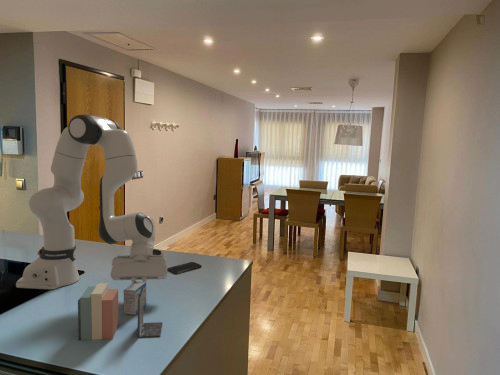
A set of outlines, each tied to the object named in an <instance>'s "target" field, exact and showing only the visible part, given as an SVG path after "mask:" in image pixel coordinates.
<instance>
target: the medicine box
mask: <svg viewBox="0 0 500 375" xmlns="http://www.w3.org/2000/svg"><path fill="white" fill-rule="evenodd" d="M141 288H143V309H144V308H145V307H146V306H147V282H146V283H145V282H143V281H136V282H134V283H131V284H130V285H128V286H127V287H126V288H124V289H123V314H126V315H131V316H132V315H133V316H136V315H138V297H139V294H140V291H141Z"/></svg>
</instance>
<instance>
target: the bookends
mask: <svg viewBox="0 0 500 375" xmlns="http://www.w3.org/2000/svg"><path fill="white" fill-rule="evenodd" d="M77 322H78V324H77V327H78V328H77V332H78V341H82V340H81V317H80V298H79V299H78V300H77ZM162 328H163V322H162V321H161V322H160V321H159V322H157V321H156V322H144V308H143V288H141V291H140V294H139V297H138V313H137V338H158V337H159V338H160V337H161V334H162Z"/></svg>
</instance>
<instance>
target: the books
mask: <svg viewBox="0 0 500 375" xmlns="http://www.w3.org/2000/svg"><path fill="white" fill-rule="evenodd" d="M79 299H80V317H81V340H80V341H93V340H94V341H96V340H113V339H114V337H115V334H116V332H117V329H118V327H119V288H110V289H109V283H108V282H106V283H105V282H104V283H103V282H101V283H99V282H98V283H97V284H96V286H95V285H94V286H87V287H86V289H85V290H84V291H83V293H82V295H81V296H80V297H79Z"/></svg>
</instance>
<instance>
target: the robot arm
mask: <svg viewBox="0 0 500 375" xmlns="http://www.w3.org/2000/svg"><path fill="white" fill-rule="evenodd" d="M91 146H100V147H101V149H102V150H103V154H104V160H105V170H104V174H103V175H102V176H101V177H100V181H99V224H98V236H99V237H100V239H101V240H102V241H103V242H105V243H106V244H108V245H114V244H118V243H121V242H127V241H130V240H132V242H131V245H130V249H129V254H128V255H117V256H115V257H113V259H112V261H111V262H112V263H111V266H112V267H111V271H110V278H111V279H112V280H113V281H131V284H133V283H134V282H137V281H139V280H140V281H141V282H145V283H146V284H147V280H166V279H167V278H168V275H169V274H168V272H169V271H167V268H168V263H167V259H166V254H165V251H163V250H161V249H159V248H158V249H157V248H155V246H154V243H155V241H156V240H155V239H156V224H155V219H153V218H152V217H151V216H149V215H146V214H144V213H142V212H133V213H127V214H124V215H123V214H122V215H117V216H116V215H115V194H116V192H117V190H118V189H119V188H121V187H122V186H123V185H125V184H126V183H128V182H129V181H131V180H132V179H133V178H134V177H135V175H136V174H137V171H138V160H137V156H136V151H135V147H134V144H133V140H132V137H131V136H130V134H129V132H127V130H124V129H122V128H121V126H120V124H118V122H117V121H116V120H113V119H112V118H111V119H110V118H106V117H104V116H100V115H89V114H84V113H83V114H78V115H74V116H72V118H70V120H69V122H68V125H67V127H65V128H64V129H63V131H62V132H61V134H60V136H59V138H58V141H57V144H56V148H55V150H54V154H53V157H52V160H51V161H52V163H51V165H50V172H51V173H52V174H53V178H54V182H53V185H52V186H51V187H47V188H42V189H40V190H38V191H37V192H34V193H33V194H31V196H30V198H29V200H28V206H29V210H30V211H31V213H32V214H33V215H35V216H36V217H37V218H38V220H39V221H40V224H41V226H42V228H41V229H42V234H43V246H41V248H40V249H39V250H38V251H37V255H38V256H39V257H37V258H36V259H35V260H33V261H31V263H30V264H28V265H27V266H26V267H25V268H24V269H23V273H22V277H20V278H19V279H18V280H17V281H16V282H15V287H16V288H19V289H36V290H37V289H38V290H56V289H59V288H61V287H64V286H70V285H72V284H74V283H76V282H78V281H79V280H80V279H81V278H80V274H79V272H78V267H77V262H76V261H77V260H76V259H77V246H76V244H75V242H76V241H75V238H76V237H75V226H74V225H73V224H71V222H70V221H69V218H68V212H71V211H73V210H75V209H77V208H79V206H80V205H82V203H83V202H84V199H85V194H84V191H83V189H82V174H83V170H84V166H85V162H86V158H87V154H88V150H89V148H90V147H91Z"/></svg>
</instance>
